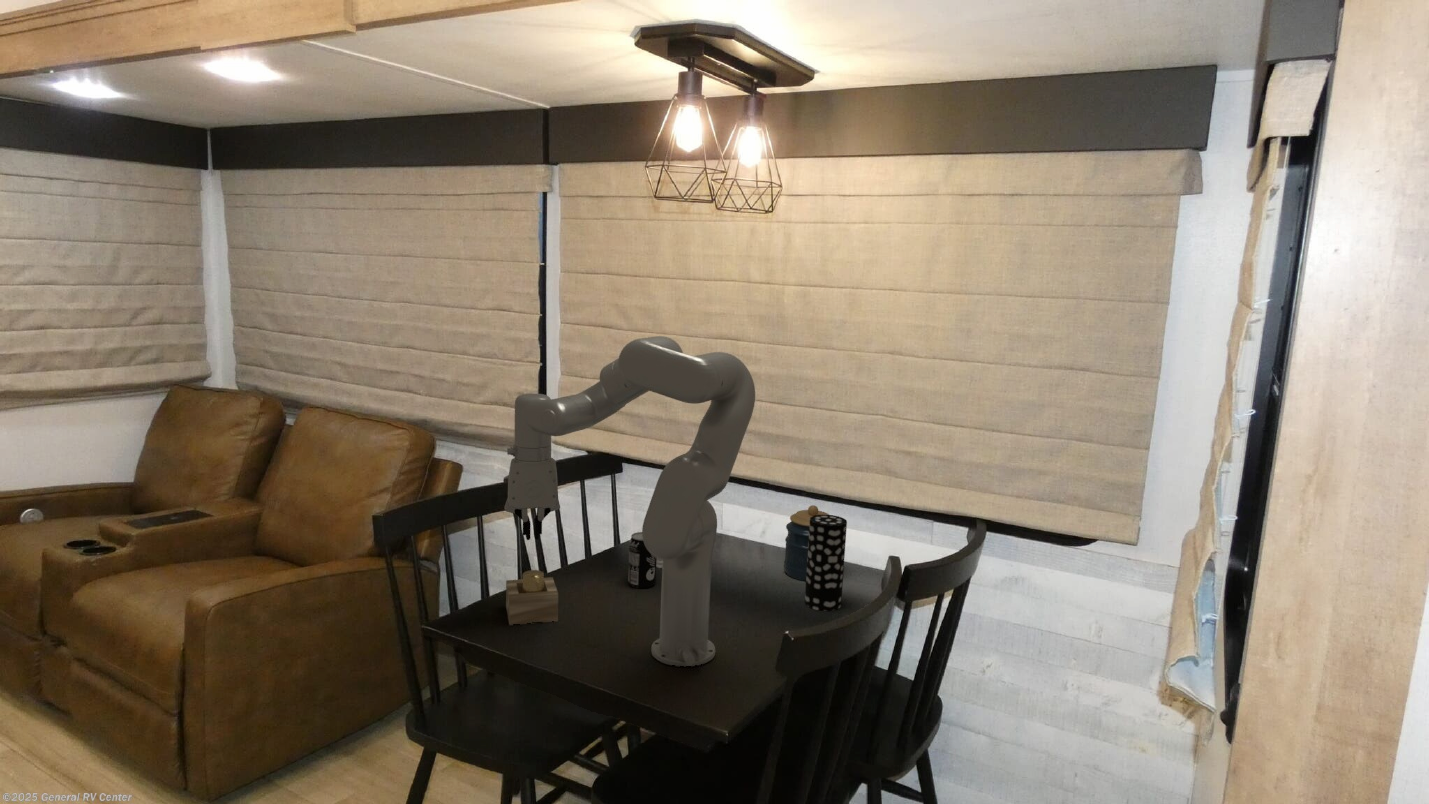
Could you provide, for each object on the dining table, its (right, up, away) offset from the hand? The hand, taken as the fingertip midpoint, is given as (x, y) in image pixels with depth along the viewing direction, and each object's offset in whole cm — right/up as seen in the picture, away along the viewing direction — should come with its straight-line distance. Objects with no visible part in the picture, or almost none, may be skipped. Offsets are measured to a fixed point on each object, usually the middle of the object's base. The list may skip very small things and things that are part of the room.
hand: (532, 537), depth 179 cm
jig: (-1, -17, +3) cm, 17 cm away
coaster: (+27, -13, +38) cm, 48 cm away
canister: (+63, -15, +34) cm, 73 cm away
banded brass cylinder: (0, -16, +3) cm, 16 cm away
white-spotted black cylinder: (+64, -18, +15) cm, 68 cm away
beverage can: (+21, -15, +22) cm, 34 cm away
